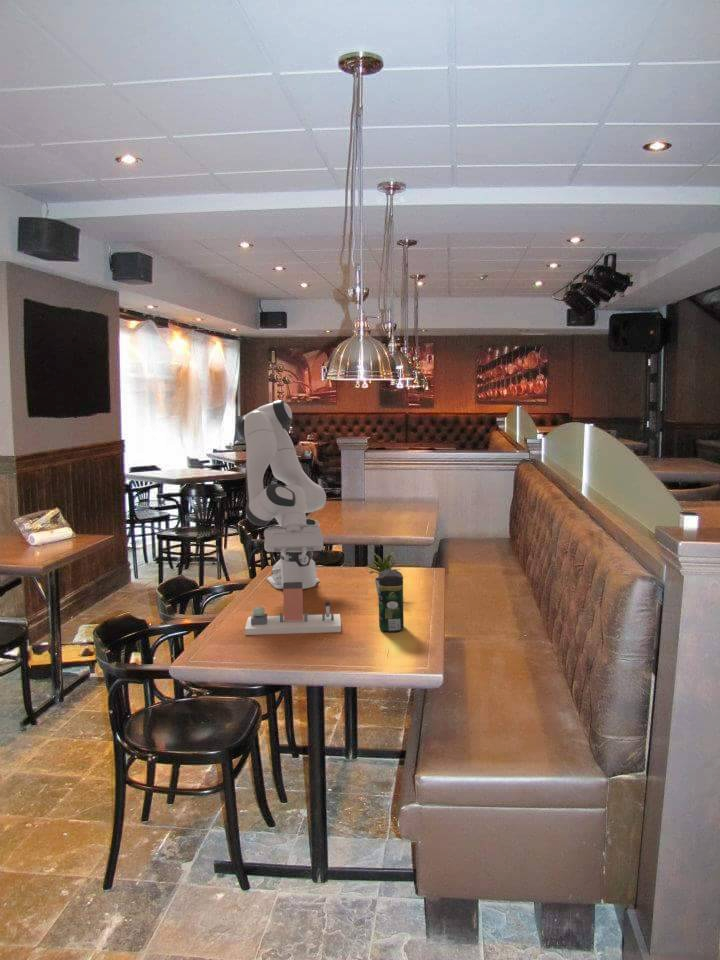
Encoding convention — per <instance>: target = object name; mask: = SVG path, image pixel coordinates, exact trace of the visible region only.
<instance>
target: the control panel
mask: <svg viewBox="0 0 720 960" xmlns="http://www.w3.org/2000/svg"><path fill="white" fill-rule="evenodd" d="M244 627H245V628H244V635H245V636H252V635H253V636H257V635H259V636H260V635H283V634H284V635H285V634H286V635H287V634H290V635H292V634H315V633H316V634H317V633H318V634H319V633H322V634H323V633H341V632H342V621H341V614H340V613H330V617H326V613H325V614H323V613H322V614H308V612H303V620H284V613H279V615H268V613H265V615H263V616H254V615H253V613H252V614H251V616H248V618H247V620H246V624H245V626H244Z"/></svg>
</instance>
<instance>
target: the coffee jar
mask: <svg viewBox="0 0 720 960" xmlns="http://www.w3.org/2000/svg"><path fill="white" fill-rule="evenodd" d="M378 573H379V572H378ZM378 577H379V578H378V579H379V580H378V594H377V597H378V599H377V601H378V627H379V629H380V630H381V631H382V632H387V633H396V632H401V631H403V629H404V625H405V624H404V620H405V619H404V617H405V616H404V576H403V574H402V572H401V571H399V570H396V569H393V568H391V570H384V571H382V572H381V573H379V574H378Z"/></svg>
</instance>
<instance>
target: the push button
mask: <svg viewBox="0 0 720 960" xmlns="http://www.w3.org/2000/svg"><path fill="white" fill-rule="evenodd" d="M265 610H266V609H265V607H264V606H255V607H253V608H252V614H253V615H254V616H263V615H265V614H266V612H265Z"/></svg>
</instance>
